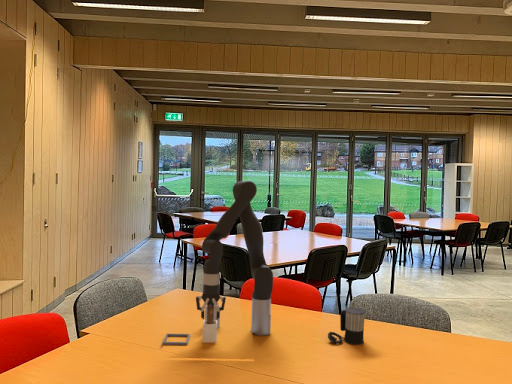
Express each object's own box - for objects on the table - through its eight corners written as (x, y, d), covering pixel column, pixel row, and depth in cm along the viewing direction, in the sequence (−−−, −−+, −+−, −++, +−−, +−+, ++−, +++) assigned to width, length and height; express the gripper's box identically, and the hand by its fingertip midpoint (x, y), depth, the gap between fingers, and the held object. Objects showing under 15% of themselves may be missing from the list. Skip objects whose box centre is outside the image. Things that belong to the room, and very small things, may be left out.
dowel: (213, 338, 204) (214, 304, 204) (212, 341, 201) (213, 306, 200) (206, 338, 204) (207, 304, 203) (206, 341, 201) (207, 306, 200)
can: (212, 331, 215) (213, 307, 215) (201, 328, 220) (202, 304, 219) (222, 328, 221) (223, 304, 221) (211, 324, 226) (212, 301, 225)
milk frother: (367, 341, 209) (369, 310, 208) (350, 350, 197) (351, 317, 197) (342, 333, 218) (343, 304, 218) (323, 341, 207) (324, 310, 207)
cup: (216, 339, 206) (217, 320, 205) (216, 344, 200) (216, 324, 199) (203, 339, 206) (204, 319, 205) (202, 344, 199) (202, 324, 199)
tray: (190, 337, 207) (190, 333, 207) (187, 346, 196) (187, 342, 196) (166, 337, 206) (166, 333, 206) (162, 346, 195) (162, 342, 195)
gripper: (227, 281, 206) (226, 316, 206) (196, 280, 205) (195, 316, 206) (226, 285, 198) (225, 322, 199) (194, 284, 198) (193, 321, 198)
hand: (210, 318), depth 202 cm, fingers open, 5 cm apart
